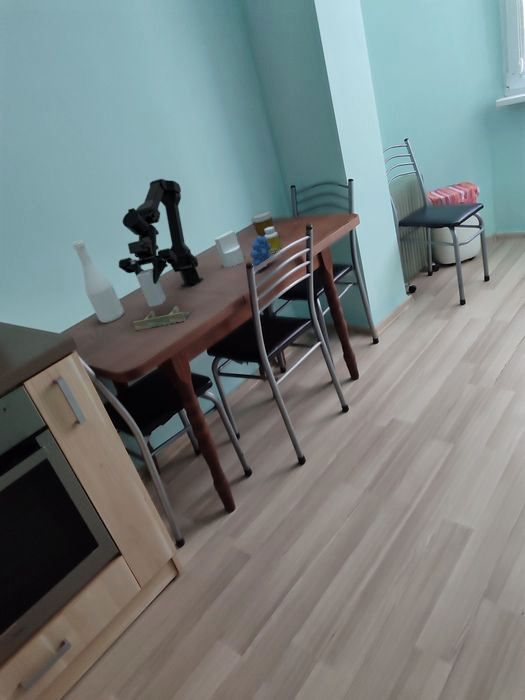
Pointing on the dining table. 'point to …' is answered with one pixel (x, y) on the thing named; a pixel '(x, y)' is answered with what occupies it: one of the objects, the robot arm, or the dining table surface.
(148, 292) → the grey block
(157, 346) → the dining table surface
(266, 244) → the grapes
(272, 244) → the supplement bottle
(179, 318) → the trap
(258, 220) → the disposable coffee cup
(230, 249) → the cylinder with rectangular tab
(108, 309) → the wine bottle
